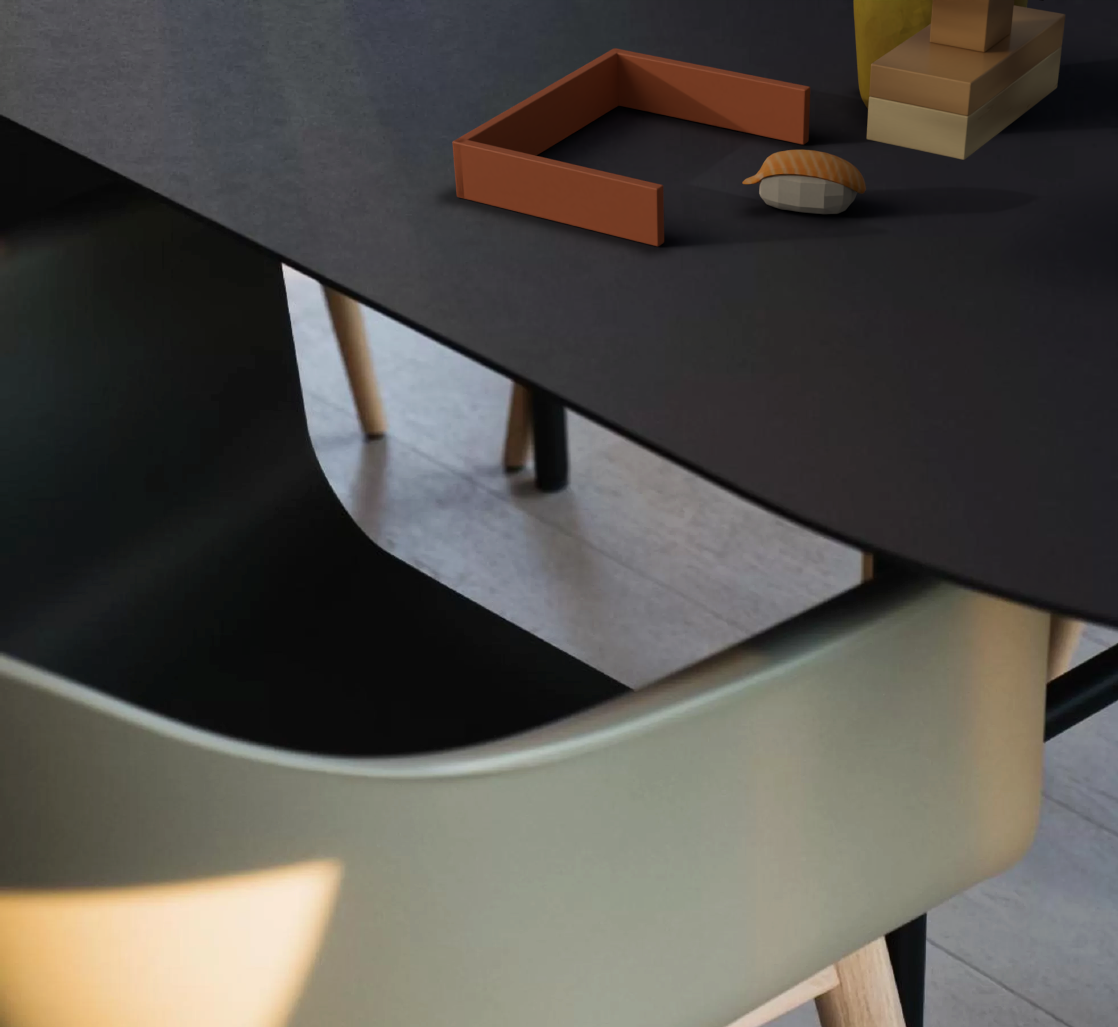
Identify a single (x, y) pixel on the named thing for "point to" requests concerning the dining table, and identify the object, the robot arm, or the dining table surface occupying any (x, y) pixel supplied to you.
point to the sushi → (808, 182)
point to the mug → (887, 30)
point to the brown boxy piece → (964, 76)
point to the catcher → (588, 93)
